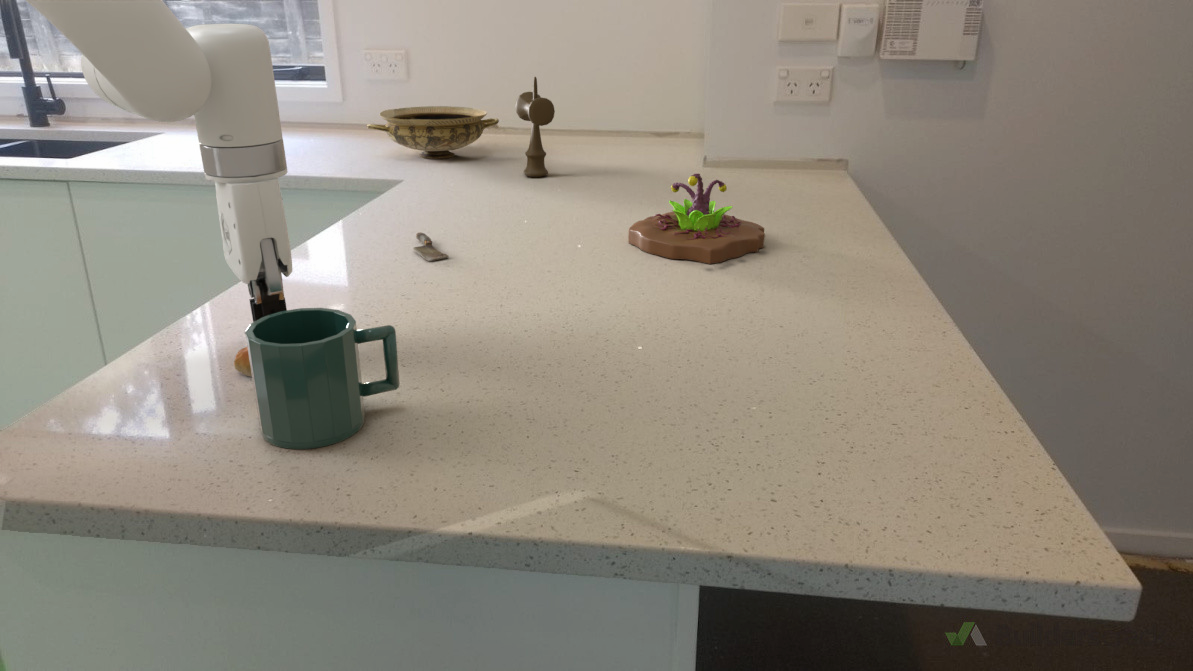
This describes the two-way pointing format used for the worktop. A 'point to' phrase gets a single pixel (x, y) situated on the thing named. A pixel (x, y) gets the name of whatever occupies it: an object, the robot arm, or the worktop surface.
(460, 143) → the ceramic bowl
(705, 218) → the plant
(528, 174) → the kendama
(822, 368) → the worktop surface
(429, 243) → the meat cleaver
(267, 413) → the mug
